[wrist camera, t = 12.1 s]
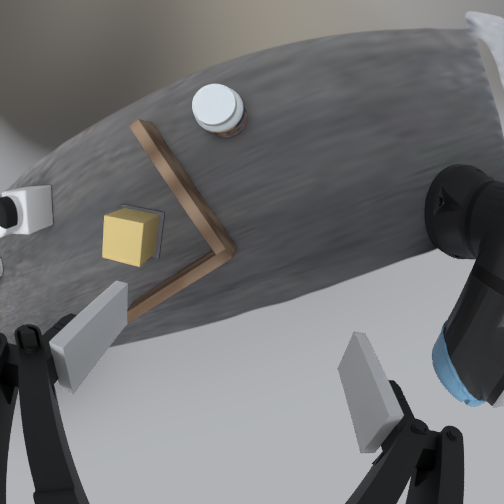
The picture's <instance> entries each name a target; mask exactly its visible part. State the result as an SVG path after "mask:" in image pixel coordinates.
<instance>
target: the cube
mask: <svg viewBox="0 0 504 504" xmlns="http://www.w3.org/2000/svg"><path fill="white" fill-rule="evenodd" d="M159 216H160V215H157V214H152V213H147V212H142V211H137V210H132V209H127V208H123V209H120V210H117V211H115V212H112V213H109V214H107V215H105V216H104V231H103V256H102V257H104V258H107V259H111V260H115V261H119V262H123V263H126V264H130V265H134V266H138V267H140V266H141V265H142V264H144V263H145V262H146V261H147V260H148V259H149V258H150V257H152V256H153V255H154V254H155V250H156V241H157V232H158V223H159Z"/></svg>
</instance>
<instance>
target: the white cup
mask: <svg viewBox="0 0 504 504" xmlns="http://www.w3.org/2000/svg"><path fill="white" fill-rule="evenodd" d="M2 273H3V264H2V261H1V258H0V277H1V276H2Z"/></svg>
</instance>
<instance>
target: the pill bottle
mask: <svg viewBox="0 0 504 504" xmlns="http://www.w3.org/2000/svg"><path fill="white" fill-rule="evenodd" d="M192 110H193V113H194V116H195V119H196V121H197V122H198V124H199V125H200V126H201V127H202V128H204V129H206V130H208V131H209V132H211V133H212V134H214V135H216V136H219V137H231V136H234V135H236V134H238V133H239V132H240V131H241V130H242V129H243V128H244V126H245V124H246V121H247V113H246V109H245V107H244V104H243V102H242V99H241V97H240V96H239V95H238V94H237V93H236V92H235V91H234V90H232V89H230V88H228V87H226V86H224V85H221V84H210V85H207V86H204V87H203V88H201V89H200V90H199V91H198V92H197V93H196V94H195V96H194V98H193V102H192Z"/></svg>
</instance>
